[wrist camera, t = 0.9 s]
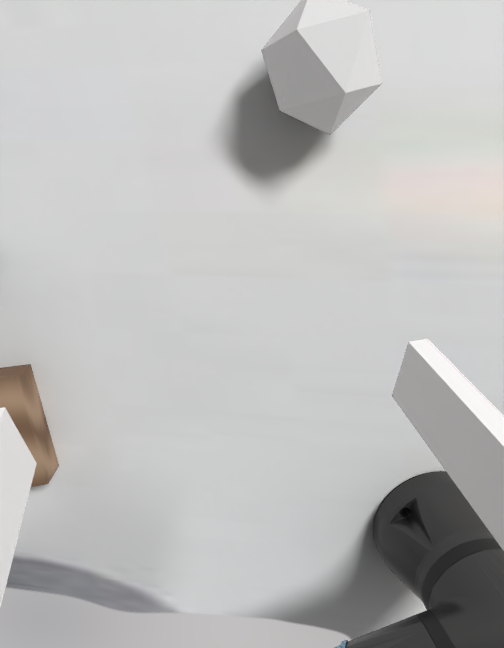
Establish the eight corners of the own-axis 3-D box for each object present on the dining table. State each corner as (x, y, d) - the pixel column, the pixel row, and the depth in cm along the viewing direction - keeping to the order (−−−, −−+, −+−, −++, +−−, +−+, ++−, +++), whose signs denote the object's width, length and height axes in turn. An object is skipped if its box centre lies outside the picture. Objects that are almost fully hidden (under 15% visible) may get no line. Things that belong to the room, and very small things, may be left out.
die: (332, 155, 37) (425, 77, 28) (258, 149, 32) (343, 53, 23) (307, 75, 37) (391, -25, 29) (230, 57, 32) (304, -70, 24)
